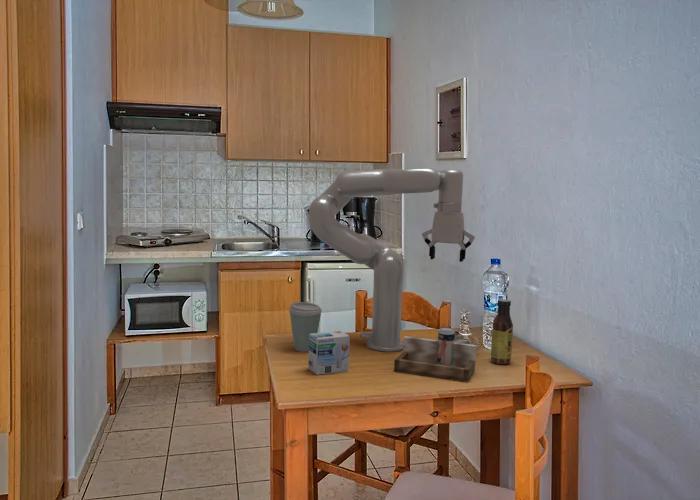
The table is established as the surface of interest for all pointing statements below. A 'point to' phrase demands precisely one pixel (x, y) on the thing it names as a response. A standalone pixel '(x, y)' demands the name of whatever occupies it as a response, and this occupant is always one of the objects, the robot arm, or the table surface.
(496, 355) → the sauce bottle
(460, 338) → the ceramic sculpture
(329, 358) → the light bulb box
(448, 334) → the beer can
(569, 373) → the table surface
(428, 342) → the wooden tray
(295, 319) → the disposable coffee cup
